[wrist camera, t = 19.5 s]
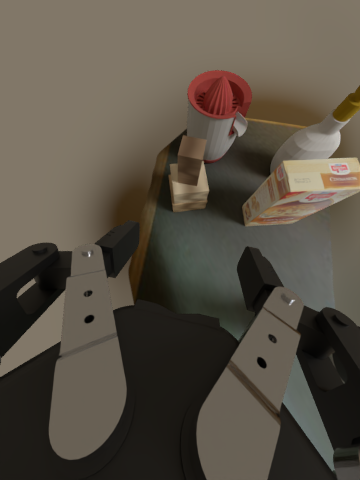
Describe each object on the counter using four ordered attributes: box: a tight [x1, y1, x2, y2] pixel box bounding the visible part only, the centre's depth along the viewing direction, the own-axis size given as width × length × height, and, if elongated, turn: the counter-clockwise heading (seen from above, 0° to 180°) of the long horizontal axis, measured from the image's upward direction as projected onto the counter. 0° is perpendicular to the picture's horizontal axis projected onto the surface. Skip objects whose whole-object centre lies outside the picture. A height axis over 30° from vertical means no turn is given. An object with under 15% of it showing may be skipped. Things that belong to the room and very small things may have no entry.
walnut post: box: [178, 135, 207, 186], centre depth 35 cm, size 5×5×9 cm
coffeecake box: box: [242, 158, 360, 226], centre depth 38 cm, size 15×7×20 cm, turn 93°
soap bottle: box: [270, 86, 360, 174], centre depth 38 cm, size 14×9×26 cm, turn 92°
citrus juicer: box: [187, 70, 252, 163], centre depth 43 cm, size 16×17×20 cm
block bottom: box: [169, 175, 207, 212], centre depth 46 cm, size 10×10×5 cm
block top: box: [170, 161, 209, 204], centre depth 42 cm, size 9×9×5 cm
